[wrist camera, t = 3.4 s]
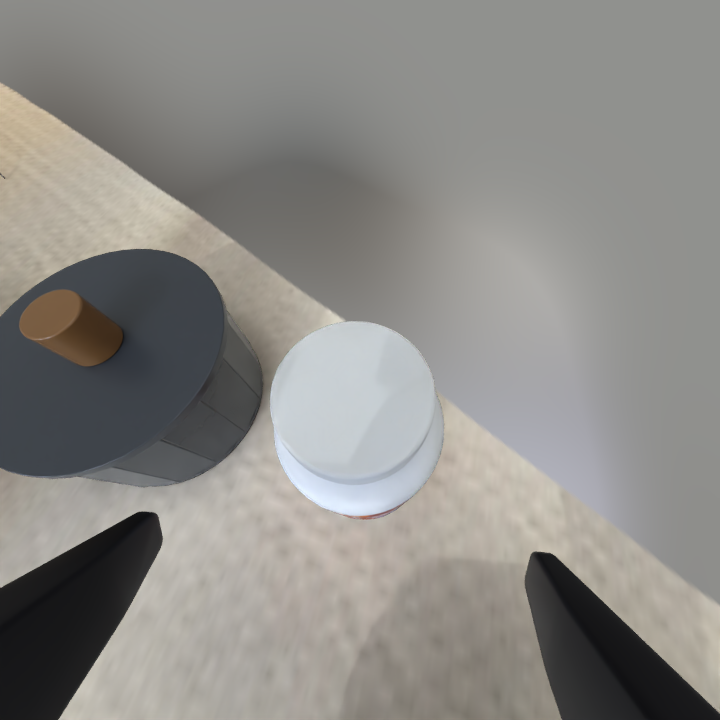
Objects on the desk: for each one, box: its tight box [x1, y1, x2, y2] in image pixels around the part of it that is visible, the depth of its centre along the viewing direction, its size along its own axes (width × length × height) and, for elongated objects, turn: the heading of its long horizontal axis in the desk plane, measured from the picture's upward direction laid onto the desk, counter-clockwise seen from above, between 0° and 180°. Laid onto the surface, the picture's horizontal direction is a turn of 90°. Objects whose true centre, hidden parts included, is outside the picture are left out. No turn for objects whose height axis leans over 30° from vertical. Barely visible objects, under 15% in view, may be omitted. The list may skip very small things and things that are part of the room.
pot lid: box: [0, 249, 228, 479], centre depth 15 cm, size 12×12×4 cm
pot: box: [77, 310, 263, 487], centre depth 19 cm, size 11×11×6 cm
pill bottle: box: [270, 321, 444, 520], centre depth 14 cm, size 6×6×11 cm
